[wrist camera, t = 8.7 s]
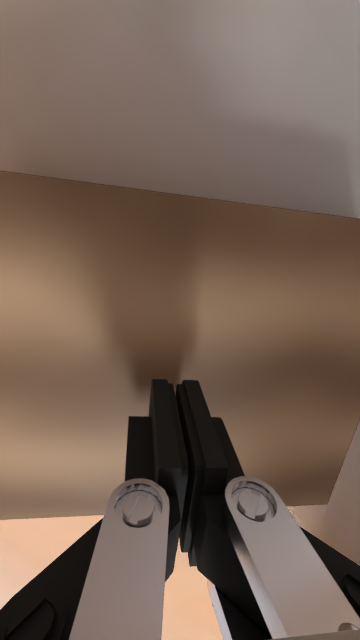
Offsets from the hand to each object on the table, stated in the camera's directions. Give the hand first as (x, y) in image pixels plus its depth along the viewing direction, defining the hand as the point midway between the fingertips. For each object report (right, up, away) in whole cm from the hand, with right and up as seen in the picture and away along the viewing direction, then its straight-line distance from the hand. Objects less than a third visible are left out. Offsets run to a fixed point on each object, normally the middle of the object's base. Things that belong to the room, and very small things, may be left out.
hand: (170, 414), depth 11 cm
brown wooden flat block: (+1, +2, +5) cm, 5 cm away
